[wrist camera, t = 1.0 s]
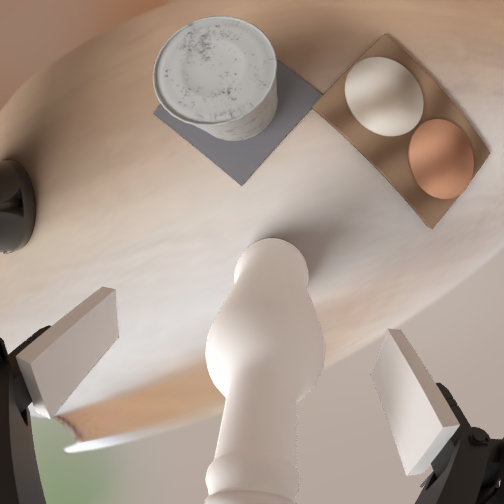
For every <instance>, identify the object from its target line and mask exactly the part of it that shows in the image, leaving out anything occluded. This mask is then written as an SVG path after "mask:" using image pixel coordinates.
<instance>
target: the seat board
mask: <svg viewBox="0 0 504 504" xmlns="http://www.w3.org/2000/svg"><path fill="white" fill-rule="evenodd" d="M312 109H314V110H315V111H316V112H317V113H318V114H319V115H321V116H322V117H323V118H324V119H325V120H326V121H327V122H329V123H330V124H331V125H332V126H333V127H334V128H335V129H336V130H337V131H338V132H340V133H341V134H342V135H343V136H344V137H345V138H346V139H347V140H348V141H349V142H350V143H351V144H352V145H353V146H354V147H355V148H356V149H357V150H358V151H360V152H361V153H362V154H363V155H364V156H365V157H366V158H367V159H368V160H369V161H370V162H371V163H372V164H373V166H374V167H375V168H376V169H377V170H378V171H379V172H380V173H381V174H382V175H383V176H384V177H385V178H386V179H387V180H388V181H389V182H390V183H391V185H392V186H393V187H394V188H395V189H396V190H397V191H398V192H399V193H400V194H401V196H402V197H403V198H404V199H405V200H406V201H407V202H408V204H409V205H410V206H411V207H412V208H413V209H414V211H415V212H416V213H417V214H418V215H419V217H420V218H421V219H422V220H423V221H424V223H425V224H426V225H427V226H428V227H429V228H431V229H433V228H434V227H435V225H436V224H437V223H438V222H439V221H440V219H441V218H442V217H443V216H444V214H445V213H446V212H447V211H448V210H449V208H450V207H451V206H452V205H453V203H454V202H455V201H456V199H457V198H458V197H459V196H460V194H461V193H462V192H463V191H464V190H465V189H466V188H467V186H468V185H469V183H470V181H471V180H472V178H473V177H474V176H475V174H476V173H477V171H478V170H479V169H480V167H481V166H482V164H483V163H484V162H485V160H486V159H487V157H488V156H489V154H490V152H489V150H488V149H487V147H486V146H485V144H484V143H483V141H482V140H481V138H480V137H479V136H478V134H477V133H476V131H475V130H474V129H473V127H472V126H471V125H470V123H469V122H468V121H467V119H466V118H465V117H464V116H463V114H462V113H461V112H460V111H459V109H458V108H457V107H456V106H455V104H454V103H453V102H452V101H451V100H450V98H449V97H448V96H447V95H446V94H445V93H444V91H443V90H442V89H441V88H440V87H439V86H438V85H437V84H436V83H435V81H434V80H433V79H432V78H431V77H430V76H429V75H428V74H427V73H426V72H425V71H424V70H423V69H422V68H421V67H420V66H419V65H418V64H417V63H416V62H415V61H414V60H413V59H412V58H411V57H410V56H409V55H408V54H407V53H406V52H405V51H404V50H403V49H402V48H400V47H399V46H398V45H397V44H396V43H395V42H394V41H393V40H392V39H390V38H389V37H388V36H387V35H386V34H384V35H383V36H382V37H381V38H380V39H379V40H378V41H377V42H376V43H375V44H374V45H373V46H372V47H371V48H370V49H369V50H367V51H366V52H365V53H364V54H363V55H362V56H361V57H360V58H359V59H358V60H357V61H356V62H355V63H354V64H353V65H352V66H351V67H350V68H349V69H348V70H347V71H346V72H345V73H344V74H343V75H342V76H341V77H340V78H339V79H338V80H337V81H336V82H335V83H334V85H333V86H332V87H331V88H330V89H329V90H328V91H327V92H326V93H325V94H324V95H323V96H322V97H321V98H320V99H319V100H318V101H317V102H316V103H315V104H314V105H313V107H312Z"/></svg>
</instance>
